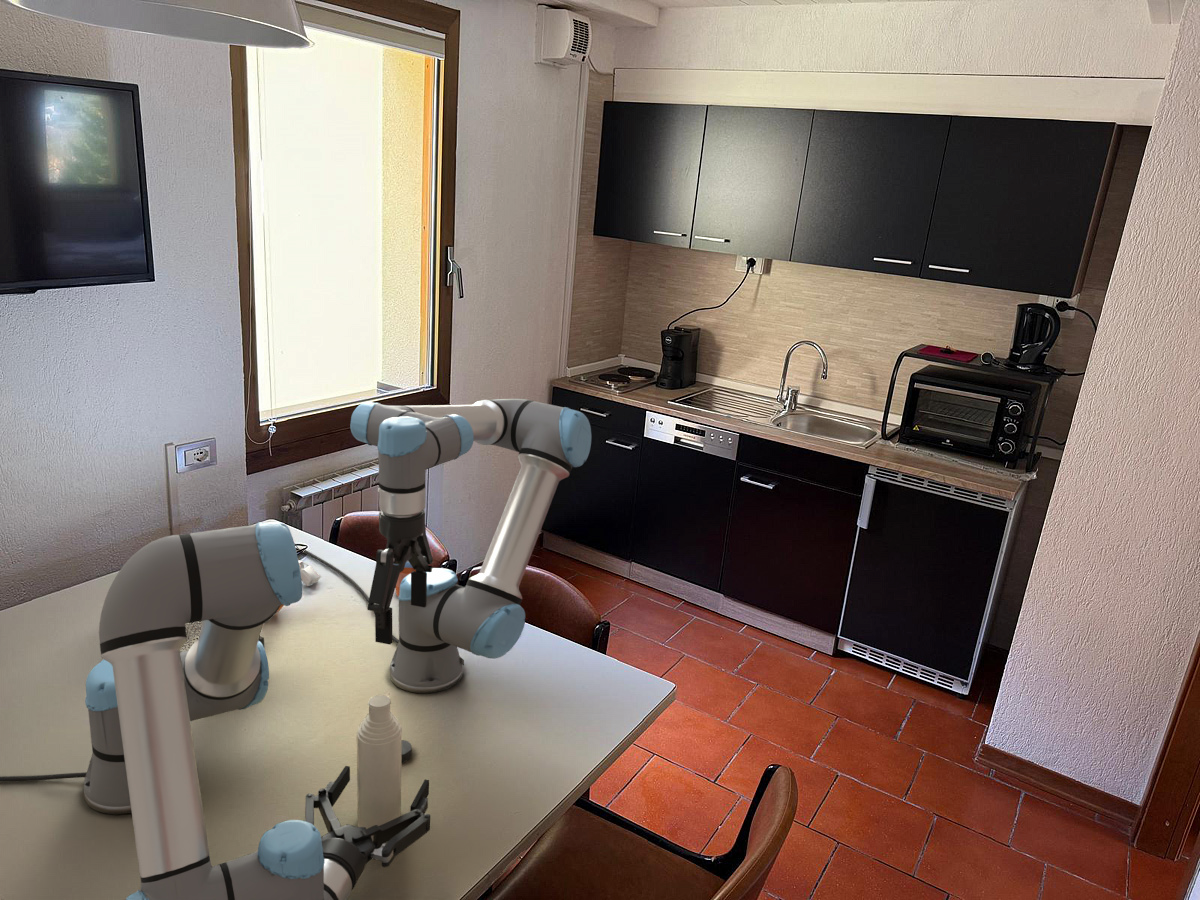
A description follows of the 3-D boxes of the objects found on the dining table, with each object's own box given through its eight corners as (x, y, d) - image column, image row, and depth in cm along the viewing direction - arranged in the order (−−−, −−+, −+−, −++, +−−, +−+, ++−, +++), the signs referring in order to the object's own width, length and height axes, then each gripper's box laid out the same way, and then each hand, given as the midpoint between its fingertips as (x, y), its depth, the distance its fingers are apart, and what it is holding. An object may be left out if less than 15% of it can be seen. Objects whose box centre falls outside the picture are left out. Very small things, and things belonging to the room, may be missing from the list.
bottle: (408, 831, 139) (409, 704, 132) (368, 849, 134) (368, 718, 127) (389, 807, 144) (390, 683, 136) (350, 823, 139) (349, 696, 132)
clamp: (253, 565, 223) (254, 542, 221) (265, 560, 226) (266, 537, 224) (309, 593, 215) (310, 569, 213) (320, 588, 218) (321, 564, 216)
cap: (407, 745, 159) (407, 737, 159) (415, 759, 156) (415, 751, 155) (382, 751, 157) (382, 743, 157) (390, 766, 153) (390, 758, 153)
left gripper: (246, 883, 122) (315, 786, 143) (413, 915, 119) (459, 811, 140) (244, 840, 120) (314, 748, 140) (414, 872, 117) (461, 773, 137)
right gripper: (413, 482, 155) (413, 588, 161) (343, 534, 131) (346, 655, 138) (452, 488, 153) (450, 595, 160) (388, 542, 130) (389, 663, 136)
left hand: (387, 779), depth 140 cm, fingers open, 13 cm apart
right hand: (402, 623), depth 149 cm, fingers open, 13 cm apart
